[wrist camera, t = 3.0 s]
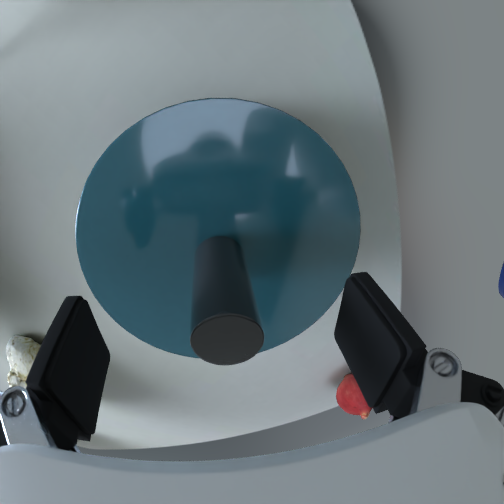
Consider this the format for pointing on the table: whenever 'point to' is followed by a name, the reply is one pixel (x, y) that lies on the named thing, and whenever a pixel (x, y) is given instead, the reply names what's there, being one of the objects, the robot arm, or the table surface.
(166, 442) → the table surface
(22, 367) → the decorative item
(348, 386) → the red pomegranate
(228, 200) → the lid
